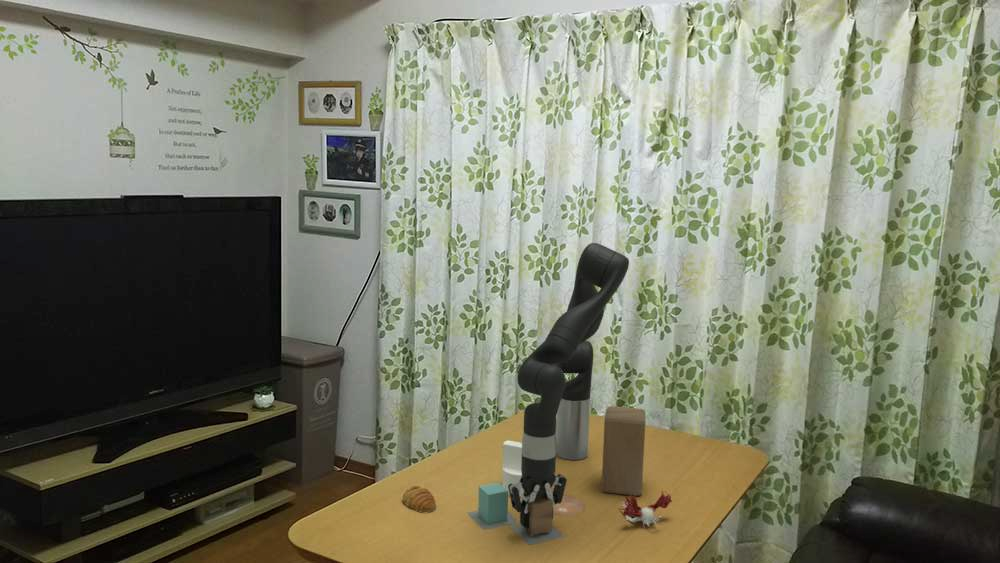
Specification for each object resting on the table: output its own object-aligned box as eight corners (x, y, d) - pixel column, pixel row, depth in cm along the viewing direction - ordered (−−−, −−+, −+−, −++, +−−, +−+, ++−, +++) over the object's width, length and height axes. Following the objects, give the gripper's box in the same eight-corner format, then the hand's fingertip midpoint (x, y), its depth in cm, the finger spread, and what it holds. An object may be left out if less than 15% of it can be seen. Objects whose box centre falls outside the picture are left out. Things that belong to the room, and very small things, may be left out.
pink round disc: (530, 501, 175) (530, 498, 175) (568, 493, 180) (568, 491, 180) (553, 520, 165) (553, 518, 165) (593, 511, 170) (593, 509, 170)
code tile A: (509, 528, 161) (509, 526, 161) (544, 520, 165) (544, 518, 165) (528, 546, 153) (528, 544, 153) (564, 538, 157) (564, 536, 157)
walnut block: (521, 525, 161) (522, 495, 160) (540, 520, 163) (541, 491, 162) (532, 535, 156) (533, 505, 155) (551, 530, 158) (552, 500, 157)
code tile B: (466, 514, 167) (466, 512, 167) (501, 507, 172) (501, 505, 171) (483, 531, 160) (483, 529, 159) (519, 523, 164) (519, 521, 164)
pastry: (443, 511, 169) (443, 496, 169) (418, 518, 165) (418, 503, 165) (423, 496, 177) (423, 481, 176) (399, 503, 173) (399, 488, 172)
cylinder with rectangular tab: (542, 487, 183) (544, 442, 182) (529, 501, 175) (530, 454, 173) (510, 480, 187) (511, 436, 185) (495, 493, 179) (497, 447, 177)
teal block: (478, 514, 167) (478, 486, 166) (497, 510, 169) (498, 482, 168) (487, 524, 162) (488, 494, 161) (507, 519, 164) (508, 490, 163)
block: (641, 497, 179) (645, 420, 176) (601, 493, 180) (604, 416, 178) (641, 481, 188) (645, 408, 185) (603, 477, 190) (606, 404, 187)
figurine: (649, 504, 175) (650, 478, 174) (683, 525, 165) (684, 497, 164) (599, 517, 168) (601, 490, 167) (632, 540, 158) (633, 511, 157)
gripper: (558, 441, 163) (555, 511, 166) (501, 450, 157) (500, 523, 159) (575, 452, 157) (572, 525, 159) (518, 463, 150) (515, 539, 153)
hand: (536, 524), depth 159 cm, fingers closed on walnut block, 5 cm apart
